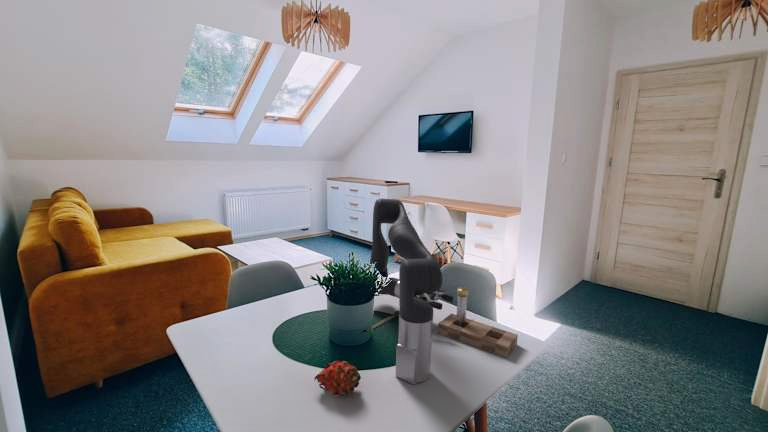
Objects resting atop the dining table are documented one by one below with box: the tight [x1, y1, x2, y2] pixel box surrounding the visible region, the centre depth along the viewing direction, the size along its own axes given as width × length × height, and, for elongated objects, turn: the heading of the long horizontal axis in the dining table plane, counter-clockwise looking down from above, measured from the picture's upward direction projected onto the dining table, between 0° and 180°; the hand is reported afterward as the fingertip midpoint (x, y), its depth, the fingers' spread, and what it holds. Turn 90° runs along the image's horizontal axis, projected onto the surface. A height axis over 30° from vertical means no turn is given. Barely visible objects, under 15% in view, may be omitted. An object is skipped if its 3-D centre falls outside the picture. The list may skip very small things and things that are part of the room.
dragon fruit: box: [314, 360, 362, 397], centre depth 90 cm, size 8×8×12 cm
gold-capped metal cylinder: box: [455, 286, 469, 328], centre depth 121 cm, size 4×4×16 cm
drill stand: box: [437, 313, 519, 359], centre depth 119 cm, size 10×24×4 cm, turn 53°
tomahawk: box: [371, 310, 400, 334], centre depth 127 cm, size 21×7×1 cm, turn 140°
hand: (447, 303), depth 124 cm, fingers open, 8 cm apart
